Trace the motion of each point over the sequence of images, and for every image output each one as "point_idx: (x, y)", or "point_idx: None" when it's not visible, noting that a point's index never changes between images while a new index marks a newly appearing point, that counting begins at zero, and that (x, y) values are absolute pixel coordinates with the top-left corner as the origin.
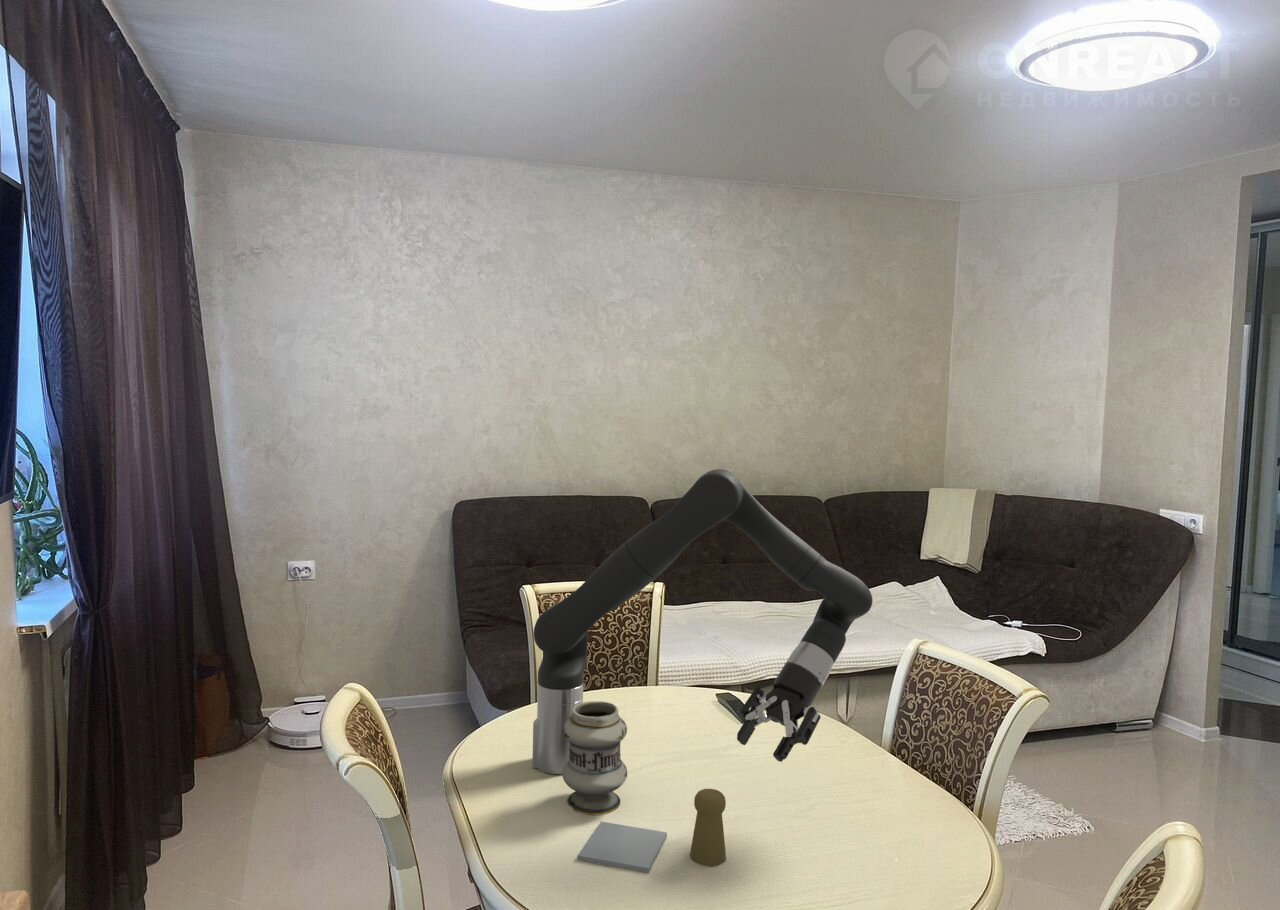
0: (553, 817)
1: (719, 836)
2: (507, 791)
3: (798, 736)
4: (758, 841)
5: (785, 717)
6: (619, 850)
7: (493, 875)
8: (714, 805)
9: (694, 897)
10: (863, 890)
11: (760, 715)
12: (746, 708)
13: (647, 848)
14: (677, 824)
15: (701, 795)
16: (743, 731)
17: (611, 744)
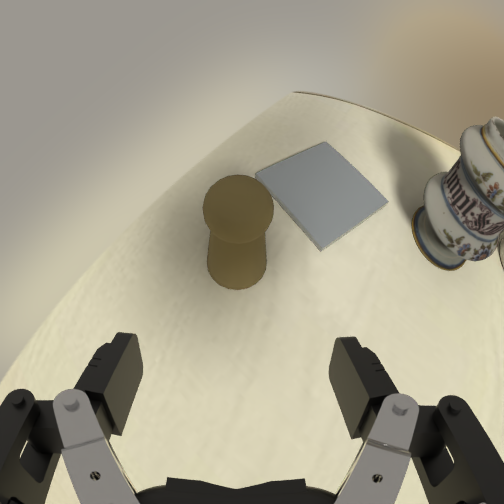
0: (419, 182)
1: (209, 240)
2: None
3: (20, 391)
4: (218, 366)
5: (102, 472)
6: (313, 174)
7: (334, 99)
8: (208, 190)
9: (177, 185)
10: (35, 363)
11: (355, 462)
12: (454, 424)
13: (298, 199)
14: (345, 291)
15: (243, 177)
16: (352, 358)
17: (464, 162)
